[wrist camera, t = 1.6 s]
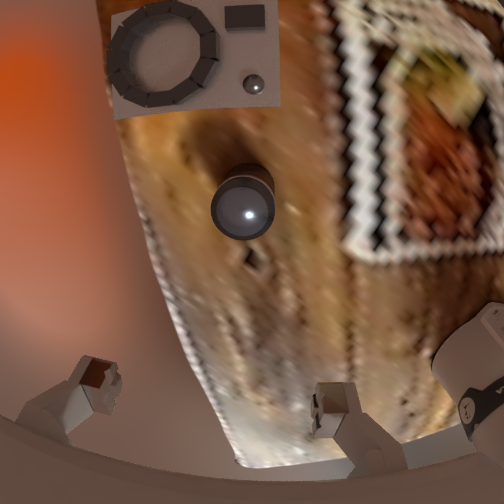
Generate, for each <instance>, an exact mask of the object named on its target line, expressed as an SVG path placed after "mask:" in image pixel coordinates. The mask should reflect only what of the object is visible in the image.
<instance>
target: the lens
mask: <svg viewBox="0 0 504 504" xmlns="http://www.w3.org/2000/svg"><path fill="white" fill-rule="evenodd" d="M274 215H275V187H274V181H273V178H272V176H271V175H270V173H269V172H268V171H267V170H266V169H265V168H263V167H262V166H260V165H257V164H253V163H244V164H240V165H238V166H236V167H234V168H233V169H232V170H231V171H230V172H229V173H228V174H227V176H226V178H225V179H224V181H223V182H222V184H221V185H220V186H219V188H218V189H217V191H216V193H215V195H214V197H213V199H212V203H211V216H212V219H213V221H214V223H215V225H216V227H217V228H218V229H219V230H220V231H221V232H222V233H223V234H225V235H226V236H228V237H230V238H233V239H236V240H251V239H255V238H257V237H259V236H261V235H263V234H264V233H265V232H266V231H267V230H268V229H269V227H270V226H271V224H272V222H273V220H274Z"/></svg>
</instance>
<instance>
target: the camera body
mask: <svg viewBox="0 0 504 504" xmlns="http://www.w3.org/2000/svg"><path fill="white" fill-rule="evenodd" d="M108 48H110V49H111V50H108V51H107V75H110V76H109V77H108V78H109V79H110V81H111V83H112V95H113V111H114V120H116V119H123V118H129V117H136V116H143V115H150V114H158V113H167V112H177V111H187V110H199V109H214V108H233V107H280V59H279V26H278V0H177V1H176V0H174V1H172V0H167V1H162V2H157V3H152V4H148V5H145V7H141V8H137V9H133V10H129V11H125V12H121V13H118V14H114V15H112V16H111V42H110V44H109V46H108Z"/></svg>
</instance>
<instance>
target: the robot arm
mask: <svg viewBox="0 0 504 504" xmlns="http://www.w3.org/2000/svg"><path fill="white" fill-rule="evenodd" d="M117 370H118V366H117V363H115V362H111V361H107V360H103V359H99V358H95V357H90V356H86V355H84V356H83V357H81V359H80V361H79V362H78V364H77V366H76V367H75V369H74V371H73V373H72V374H71V376H70V378H69V380H68V381H66V380H65V381H63V382H61V383H59V384H58V385H56V386H54V387H52V388H50V389H49V390H47V391H45V392H43V393H42V394H40V395H38V396H36V397H35V398H33V399H31V400H29V401H27V402H26V404H25V406H24V407H23V409H22V411H21V412H20V414H19V416H18V418H17V419H16V421H15V422H14V421H12V420H10V419H8V418H6V417H4V416H2V415H0V504H504V304H502V303H496V302H490V303H488V304H487V305H486V306H485V307H484V308H483V309H482V310H481V311H480V312H479V313H478V314H477V315H476V316H475V317H474V318H473V319H472V320H470V321H469V322H467V323H466V324H464V325H463V326H461V327H460V328H459V329H457V330H456V331H455V332H454V333H453V334H452V335H451V336H450V337H449V338H448V339H447V340H446V341H445V342H444V343H443V345H442V346H441V347H440V349H439V350H438V352H437V354H436V356H435V358H434V360H433V364H432V373H433V376H434V377H435V378H436V379H437V380H438V381H439V383H440V384H441V385H442V386H443V387H444V389H445V390H446V391H447V393H448V394H449V396H450V397H451V399H452V400H453V402H454V403H455V405H456V407H457V408H458V411H459V415H460V419H461V423H462V425H463V428H464V430H465V432H466V435H467V437H468V440H469V441H471V442H473V445H474V447H475V450H476V452H475V453H471V454H467V455H464V456H461V457H458V458H454V459H451V460H447V461H444V462H439V463H436V464H431V465H427V466H423V467H418V468H414V469H408V466H407V462H406V459H405V455H404V451H403V448H402V445H401V444H400V443H399V442H398V441H396V440H395V439H394V438H393V437H392V436H391V435H390V434H389V433H388V432H386V431H385V430H384V429H383V428H382V427H381V426H380V425H379V424H378V423H376V422H375V421H374V420H373V419H372V418H371V417H370V416H369V415H368V414H367V413H362V409H361V405H360V401H359V397H358V393H357V389H356V386H355V383H354V382H318V383H317V384H316V387H315V392H316V393H315V394H314V395H313V396H312V400H311V417H312V418H313V419H314V421H313V424H312V430H313V438H333V439H334V440H335V442H336V443H337V444H338V445H339V447H340V448H341V449H342V450H343V452H344V453H345V454H346V455H347V456H348V458H349V459H350V460H351V461H352V463H353V464H354V465H355V466H356V467H355V468H354V469H353V471H352V472H351V473H350V474H349V476H348V477H347V479H335V480H322V481H321V480H320V481H251V480H236V479H224V478H214V477H205V476H198V475H191V474H184V473H178V472H172V471H167V470H161V469H156V468H152V467H147V466H142V465H138V464H134V463H130V462H125V461H122V460H118V459H114V458H111V457H107V456H103V455H100V454H97V453H94V452H90V451H87V450H84V449H81V448H78V447H75V446H73V444H72V442H71V441H70V439H69V438H68V436H67V435H66V434H67V433H68V432H70V431H71V430H72V429H74V428H75V427H76V426H77V425H78V424H80V423H81V422H82V421H84V420H85V419H86V418H87V417H88V416H90V415H91V414H92V413H94V412H93V411H95V412H99V413H103V414H107V415H111V414H112V412H113V410H114V407H115V405H116V403H115V400H114V399H115V398H117V397H118V396H119V395H120V392H121V388H122V379H121V375H120V374H119V373H118V372H117Z"/></svg>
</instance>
